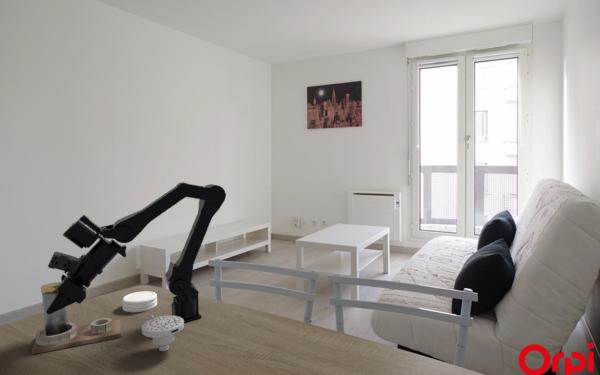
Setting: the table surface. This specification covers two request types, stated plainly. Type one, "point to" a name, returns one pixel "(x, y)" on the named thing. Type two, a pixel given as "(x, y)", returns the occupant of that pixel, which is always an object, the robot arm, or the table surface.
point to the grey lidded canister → (58, 319)
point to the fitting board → (78, 335)
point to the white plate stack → (139, 301)
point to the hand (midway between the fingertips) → (48, 309)
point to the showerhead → (162, 329)
